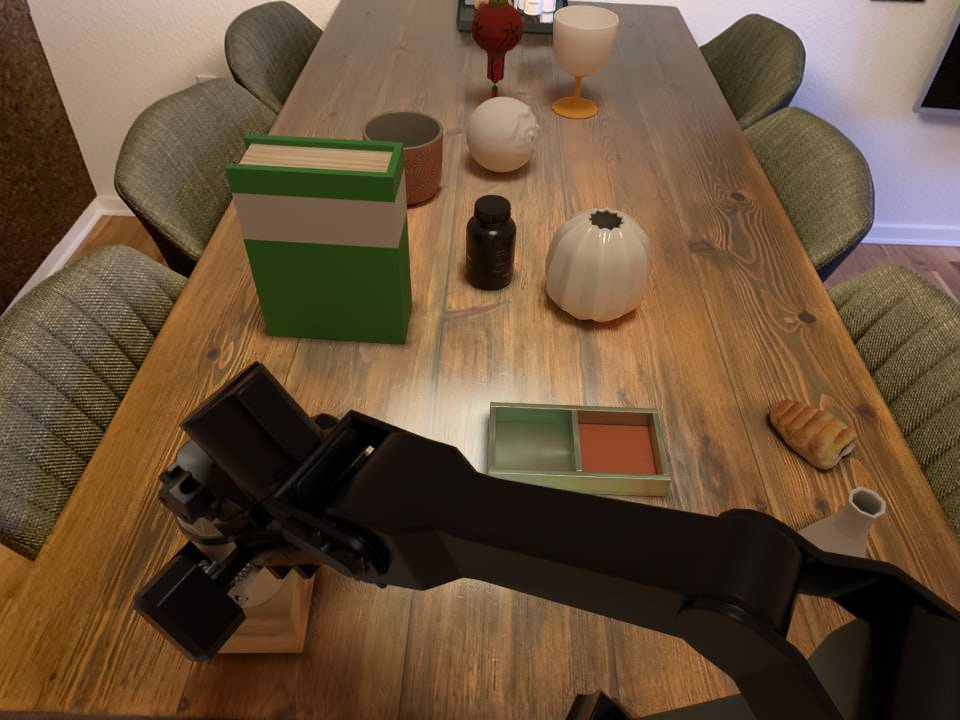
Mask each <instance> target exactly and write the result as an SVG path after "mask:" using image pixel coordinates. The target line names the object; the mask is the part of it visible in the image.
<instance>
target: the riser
mask: <svg viewBox="0 0 960 720" xmlns="http://www.w3.org/2000/svg"><path fill="white" fill-rule="evenodd" d="M315 578H316V573H315V574H314V575H313V576H312V577H311V579H303V578H302V577H301V576H300V575H299V574H298V573H297V572H296V571H295V570H294V569H293V568H292V570H291V571H290V572H289V573H288V574H287V577H286V580H285V582H284V584H283V585H282V587H281V588H280V590H279V591H278V592H277V593H276V594H275V595H274V596H273V597H271V598H270V599H269V600H267V601H265V602H264V603H262V604H259V605H257V606H253V607H249V608H242V609H243V611H244V613H245V615H246V617H247V618H246V619H245V621H244V622H243V623H242V624H241V625H240V626H239V628H238V629H237V630H236V631H235V632H234V634H233V635H232V636H231V637H230V638H229V639H228V641H227V642H226V643H225V644H224V645H223V646H222V648H221V649H220V650H219V651H218V652H217V654H302V653H303V652H304V647H305V641H306V633H307V627H308V620H309V615H310V608H311V602H312V597H313V591H314V583H315Z"/></svg>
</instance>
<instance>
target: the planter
mask: <svg viewBox="0 0 960 720" xmlns="http://www.w3.org/2000/svg"><path fill="white" fill-rule="evenodd" d="M361 137H362V140H365V141H383V142H400V143H403V148H404V166H405V184H406V202H407V206H408V205H415V204H420V203H422V202H424V201H427V200H428V199H430V198H432V197H433V196H434V195H435V194H436V192H437V191H438V189H439V188H440V184H441V180H442V174H443V158H444V157H443V156H444V155H443V153H444V127H443V124H442V122H441V121H440V120H438V119H437V117H434V116H432V115H430V114H427V113H425V112H421V111H416V110H407V109H406V110H405V109H404V110H403V109H402V110H400V109H399V110H391V111H385V112H382V113H379V114H376V115H374V116H371V118H369V119H368V120H366V121H365V122H364V124H363V125H362V128H361Z"/></svg>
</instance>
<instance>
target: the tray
mask: <svg viewBox="0 0 960 720" xmlns="http://www.w3.org/2000/svg"><path fill="white" fill-rule="evenodd" d="M487 449H488V451H487V452H488V453H487V475H490V476H493V477H496V478H500V479H506V480H512V481H518V482H523V483H529V484H535V485H540V486H546V487H552V488H557V489H563V490H569V491H575V492H580V493H586V494H592V495H614V496H615V495H618V496H641V497H642V496H643V497H662V498H663V497H665V498H666V495H667V493H668V489H669V487H670V485H671V482H672V478H671V472H670V468H669V463H668V459H667V458H668V457H667V452H666V447H665V442H664V436H663V431H662V426H661V421H660V416H659V409H658V408H650V407H625V406H601V405H580V404H579V405H578V404H577V405H575V404H573V405H572V404H553V403H552V404H550V403H549V404H548V403H529V402H527V403H526V402H502V401H501V402H499V401H489V418H488V448H487Z"/></svg>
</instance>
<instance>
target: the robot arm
mask: <svg viewBox="0 0 960 720" xmlns="http://www.w3.org/2000/svg"><path fill="white" fill-rule="evenodd" d="M182 419H183V420H181V422H180V423H179V424H178V426H179V428H181V429H182V431H183V432H185V434H186V435H187V436H188V437H189V438H190V439H188V440H187V441H186V442H185V443H184V444H183V445H182V446H181V447H180V448H179V449H178V450H177V452H176V454H175V459H174V461H173V462H171V463H170V464H169V466H167V467H166V468H165V469H164V470H163V471H162V472H161V473H160V474H159V475H158V476H157V478H158V480H159V481H160V483H161V484H163V486H162V487H160V488H159V490H158V493H157V500H158V501H159V502H160V504H162V505H163V506H164V507H165V508H166V509H167V510H169V511H170V512H171V513H172V514H173V515H174V514H175V515H176V516H177V517H179V518H180V519H181V520H182V521H183V522H185V523H186V524H189V525H193V524H194V523H195V522H196V521H197V520H198V519H199V518H205V519H207V520H208V521H210V522H213V521H214V520H215V518H218V519H217V520H216V522H215V523H214V524H213V526H214V527H215V528H216V529H217V530H218V531H219V532H220V533H221V534H222V535H223V536H224V537H226V538H228V537H232V538H233V540H234V543H235V545H236V548H235V549H234V550H233V551H232V552H231V553H230V554H229V555H228V557H227V558H226V559H225V560H224V561H223V562H222V563H221V564H219V563H218V562H217V561H211V560H210V559H209V558H208V557H207V556H206V555H205V554H204V553H203V552H202V551H201V550H200V549H199V548H198V547H197V546H196V545H195V544H194V543H193V542H192V541H191V540H189V541H187V542H186V543H185V544H184V545H183V546H181V548H180V549H179V550H178V551H177V552H176V553H175V554H174V555H173V556H172V557H170V559H169V560H168V561H167V562H166V563H165V564H164V566H162V567H161V568H160V569H159V570H158V571H157V572H156V574H154V575H153V576H152V577H151V578H150V579H149V581H147V582H146V584H145V585H143V586H142V588H140V589H139V590H138V591H137V593H136V594H135V595H134V596H133V610H134V612H135V613H137V615H139V616H141V618H142V619H144V620H145V621H146V622H147V623H148V624H149V625H150V626H151V627H152V628H153V629H154V630H155V631H157V632H158V634H160V635H161V636H162V637H163V638H164V639H165V640H166V641H167V642H169V644H170V645H171V646H173V647H174V649H176V650H177V651H178V652H179V653H180V654H182V656H184V658H186V659H187V660H188V661H190V662H195V663H202V662H210V661H212V659H213V658H214V657H215V656H216V655H217V654H218V653H217V652H218V651H219V650H220V649H221V648H222V646H223V645H224V644H225V643H226V642H227V641H228V639H229V638H230V637H231V636H232V635H233V634H234V632H235V631H236V630H237V629H238V628H239V626H240V625H241V624H242V623H243V622H244V621H245V619H246V618H247V617H246V615H245V613H244V611H243V609H242V608H241V607H242V606H243V605H244V604H245V602H246V601H247V600H248V597H247V593H246V587H247V586H248V585H249V584H250V583H251V581H252V580H253V579H254V578H255V577H256V576H257V575H258V573H259V572H260V571H261V570H262V569H263V568H264V567H265V568H266V569H267V570H268V571H269V572H270V573H271V574H272V575H273V576H274V577H275V578H276V579H284V578H285V577H286V576H287V574H288V573H289V572H290V571H291V570H292V568H293V569H294V570H295V571H296V572H297V573H298V574H299V575H300V576H301V577H302V578H303V579H311V577H312V576H313V575H314V574H315V575H316V573H317V571H318V570H319V569H320V568H321V567H322V566H323V565H325V566H326V565H327V566H328V567H329V568H331V569H333V570H334V571H336V572H337V573H339V574H341V575H343V576H344V577H346V578H349V579H353V580H355V582H358V583H360V582H363V583H365V584H370V585H374V584H375V586H376V587H377V588H379V589H382V590H384V589H386V588H387V587H388V586H393V587H398V588H402V589H408V590H413V591H418V592H425V591H429V590H432V589H435V588H437V587H441V586H444V585H447V584H449V583H450V584H451V583H452V582H455V581H458V580H461V579H469V580H474V581H478V582H479V581H480V582H484V583H486V584H487V583H488V584H490V585H494V586H497V587H501V588H504V589H508V590H511V591H514V592H515V591H516V592H519V593H521V594H526V595H529V596H531V597H532V596H533V597H535V598H539V599H543V600H546V601H549V602H554V603H557V604H560V605H564V606H567V607H571V608H574V609H577V610H581V611H583V612H584V611H585V612H587V613H591V614H595V615H599V616H602V617H604V618H609V619H612V620H616V621H619V622H622V623H626V624H629V625H633V626H636V627H640V628H643V629H647V630H650V631H654V632H657V633H661V634H664V635H667V636H670V637H675V638H678V639H681V640H683V641H684V642H685V643H686V644H687V645H688V646H690V648H692V649H693V650H694V652H696V653H698V654H699V655H701V657H703V658H704V659H706V660H707V661H708V662H710V663H711V664H712V665H714V666H715V667H716V668H718V669H719V671H722V672H723V673H724V674H726V675H727V676H728V677H730V678H731V680H732V681H733V682H734V684H735V687H737V689H738V691H739V692H740V693H734V694H731V695H730V694H729V695H726V696H722V697H718V698H714V699H710V700H706V701H702V702H697V703H693V704H689V705H685V706H681V707H676V708H672V709H668V710H664V711H660V712H656V713H652V714H651V713H650V714H648V715H644V716H643V715H642V716H640V715H638V713H636V712H635V711H633V710H632V709H631V708H629V706H627V705H626V704H624V703H623V702H621V700H619V699H618V698H617V697H610V696H609V695H608V694H607V693H606V692H604V691H603V690H602V689H601V688H598V689H597V690H596V691H595V692H592V693H588V694H586V693H585V694H584V693H576V695H575V696H574V699H573V701H572V704H571V706H570V708H569V710H568V712H567V715H566V717H565V719H564V720H960V610H959V609H957V608H956V607H954V605H952V604H950V603H949V602H948V601H946V600H945V599H943V598H942V597H941V596H939V595H938V594H936V593H935V592H934V591H932V590H931V589H929V588H928V587H927V586H925V585H924V584H923V583H921V582H920V581H919V580H917V579H916V578H914V577H913V576H912V575H910V574H909V573H908V572H906V571H905V570H903V569H901V567H899V566H897V565H896V564H893V563H891V562H889V561H884V560H878V559H872V558H867V557H866V558H861V557H855V556H850V555H844V554H838V553H832V552H827V551H823V550H821V549H819V548H818V547H816V546H815V545H814V544H812V543H811V542H810V541H808V540H807V539H805V538H804V537H803V536H801V535H800V534H799V533H797V532H798V531H796V530H795V529H794V528H792V527H790V526H789V525H788V524H787V523H785V522H784V521H781V520H779V518H776V517H774V516H773V515H771V514H770V513H769V514H768V513H765V512H762V511H758V510H756V509H752V508H729V509H728V510H724V511H720V513H719V514H718V515H710V514H707V513H706V514H705V513H699V512H694V511H688V510H682V509H678V508H677V509H676V508H671V507H665V506H660V505H659V506H658V505H653V504H647V503H642V502H637V501H632V500H625V499H620V498H614V497H608V496H603V495H598V494H589V493H580V492H575V491H569V490H563V489H557V488H552V487H546V486H540V485H535V484H529V483H523V482H518V481H512V480H506V479H500V478H496V477H493V476H490V475H488V474H487V473H483V472H480V471H478V470H477V469H476V468H475V467H474V466H473V465H472V463H471V462H470V460H468V458H467V457H466V456H465V455H464V454H463V452H462V451H461V450H460V449H459V448H458V447H457V446H455V445H452V444H448V443H446V442H443V441H442V442H441V441H438V440H435V439H431V438H429V437H425V436H422V435H420V434H417V433H415V432H412V431H409V430H407V429H404V428H402V427H399V426H397V425H394V424H391V423H390V422H389V423H388V422H386V421H384V420H380V419H378V418H375V417H373V416H370V415H368V414H366V413H362V412H360V411H357V410H354V409H349V410H348V411H347V412H346V413H345V414H344V415H343V416H342V417H341V418H340V419H339V418H338V417H336V416H335V415H333V414H330V413H325V412H321V413H318V414H316V415H313V416H310V415H309V414H308V413H307V411H305V410H304V408H303V407H302V406H301V405H300V404H299V403H298V402H297V401H296V400H295V399H294V397H293V396H292V395H291V394H290V393H289V392H288V391H287V389H286V388H285V387H284V386H283V385H282V383H280V382H279V381H278V379H276V377H275V376H274V374H272V373H271V372H270V370H269V369H268V368H267V367H266V365H264V363H263V362H259V360H255V361H254V362H252V363H250V364H248V366H246V367H245V368H243V369H241V370H240V371H239V372H238V373H236V374H235V375H234V376H232V377H231V378H230V379H228V380H227V381H226V382H225V383H223V384H222V385H221V386H220V387H218V388H217V389H216V390H215V391H214V392H212V393H211V394H210V395H209V396H208V397H206V398H205V399H204V400H202V402H200V403H199V404H198V405H197V406H196V407H195V408H193V409H192V410H191V411H190V412H189V413H188V414H187V415H186V416H185V417H184V418H182ZM369 447H371V448H372V450H371V451H370V452H368V449H369ZM248 563H249V565H250V567H249V566H246V565H247V564H248ZM244 567H245V569H246V571H244V570H243V568H244ZM240 572H241V574H242V576H241V575H239V573H240ZM236 576H237V579H238V580H236V579H234V578H235V577H236ZM799 595H801V596H802V595H803V596H808V597H809V596H810V597H815V598H822V599H828V600H831V601H833V603H835V604H837V605H838V606H839V607H841V608H842V609H844V610H845V611H846V612H848V613H849V614H851V616H853V617H855V618H854V619H852V620H851V621H849V622H847V623H845V624H843V625H841V626H840V627H838V628H836V629H834V630H833V631H831V632H829V633H828V634H827V635H826V637H825V638H824V639H823V640H822V641H821V643H820V644H819V645H817V647H816V648H815V649H814V650H813V652H812V653H811V654H810V655H809V657H808V658H807V659H806V656H805V655H804V654H803V653H802V652H801V651H800V650H799V649H798V648H797V646H796V645H794V644H793V643H791V642H790V641H789V640H788V639H787V637H788V634H789V631H790V626H791V623H792V619H793V615H794V613H795V610H796V609H795V608H796V605H797V601H798V597H799Z"/></svg>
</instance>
